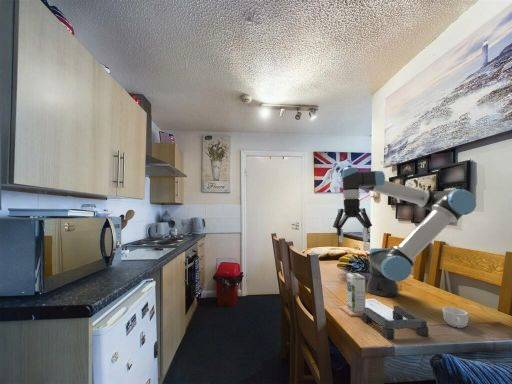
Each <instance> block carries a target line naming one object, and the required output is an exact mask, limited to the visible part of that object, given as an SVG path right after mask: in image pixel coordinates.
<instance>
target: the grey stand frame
mask: <svg viewBox="0 0 512 384" xmlns="http://www.w3.org/2000/svg"><path fill="white" fill-rule="evenodd" d="M392 308H393V310H392V320H390V319H389V320H388V319H387V318H385V317H384V316H382V315H381V314H379V313H378V312H376V311H374V310H373V309H371V308H370V307H365V308H363V312H364V313H363V316H362V322H364V323H365V324H373V321H374V322H376V323H377V324H379V325H380V326H382V327H381V330H382V331H381V333H382V337H384V338H385V339H387V340H394V339H395V330H399V329H414V328H415V333H416V334H417V335H419V336H420V337H421V338H422V337H423V338H424V337H429V327H428V324H427V323H428V322H427V320H426V319H424V318H422V317H420V316H418V315H416V314H415V313H412V312H411V311H408V310H407V309H405V308H403V307H401V306H399V305H393V307H392ZM404 318H405V319H404Z"/></svg>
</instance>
